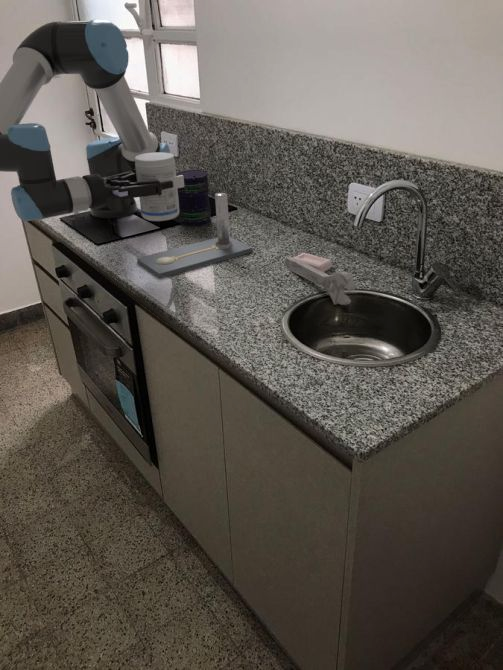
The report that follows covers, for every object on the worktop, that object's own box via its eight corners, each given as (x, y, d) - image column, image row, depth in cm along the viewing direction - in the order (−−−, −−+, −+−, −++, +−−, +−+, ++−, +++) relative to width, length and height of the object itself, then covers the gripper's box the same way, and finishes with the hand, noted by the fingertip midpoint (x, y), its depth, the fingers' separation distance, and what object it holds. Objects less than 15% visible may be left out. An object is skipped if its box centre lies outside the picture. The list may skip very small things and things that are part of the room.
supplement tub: (145, 211, 143) (138, 152, 136) (182, 210, 143) (176, 151, 136) (138, 222, 135) (130, 160, 128) (177, 221, 135) (171, 159, 127)
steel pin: (212, 244, 153) (208, 194, 146) (226, 241, 155) (223, 191, 148) (221, 249, 150) (218, 198, 143) (235, 245, 152) (233, 194, 145)
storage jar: (176, 219, 177) (171, 172, 169) (205, 215, 180) (202, 168, 172) (184, 229, 169) (179, 180, 161) (215, 224, 172) (212, 175, 164)
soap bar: (320, 275, 137) (320, 266, 136) (290, 266, 142) (290, 257, 141) (332, 268, 140) (332, 259, 139) (302, 260, 145) (302, 251, 144)
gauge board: (137, 262, 146) (136, 257, 146) (226, 239, 160) (226, 234, 159) (159, 278, 137) (159, 273, 136) (252, 251, 151) (252, 247, 150)
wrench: (291, 276, 143) (356, 312, 117) (285, 278, 142) (348, 314, 117) (290, 246, 140) (356, 275, 114) (283, 247, 139) (348, 277, 114)
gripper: (72, 199, 136) (155, 183, 147) (106, 220, 120) (196, 201, 131) (66, 167, 132) (151, 154, 143) (100, 185, 116) (194, 169, 127)
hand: (173, 177), depth 137 cm, fingers closed on supplement tub, 9 cm apart
